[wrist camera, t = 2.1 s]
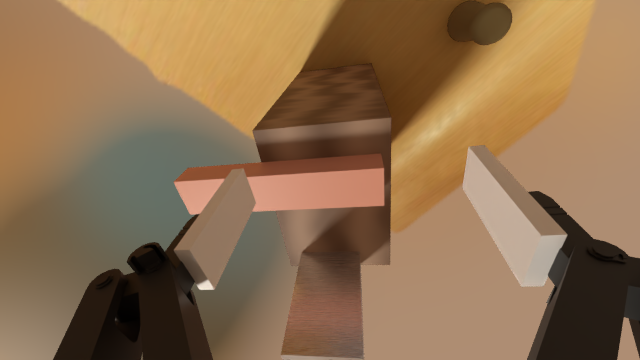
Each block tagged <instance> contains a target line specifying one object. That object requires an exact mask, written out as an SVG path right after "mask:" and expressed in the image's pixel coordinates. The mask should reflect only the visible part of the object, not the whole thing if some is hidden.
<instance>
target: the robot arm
mask: <svg viewBox="0 0 640 360" xmlns="http://www.w3.org/2000/svg"><path fill="white" fill-rule="evenodd" d="M463 190H464V191H465V193H466V195H467V196H468V198H469V200H470V201H471V203H472V205H473V206H474V208H475V210H476V211H477V213H478V215H479V216H480V218H481V220H482V221H483V223H484V225H485V227H486V228H487V230H488V232H489V233H490V235H491V237H492V238H493V240H494V242H495V243H496V245H497V247H498V248H499V250H500V252H501V253H502V255H503V256H504V258H505V260H506V261H507V263H508V265H509V267H510V268H511V270H512V272H513V273H514V275H515V277H516V278H517V280H518V282H519V283H520V285H521V286H544V284H545V282H546V280H547V278H548V276H549V278H550V279H551V280H552V282H553V283H554V285H555V286H554V288H553V290H552V292H551V294H550V296H549V298H548V300H547V303H548V304H547V307H546V309H545V312H544V315H543V318H542V320H541V323H540V326H539V329H538V331H537V334H536V337H535V339H534V342H533V345H532V347H531V351H530V353H529V356H528V358H527V360H617V357H618V350H619V343H620V337H621V331H622V324H623V318H624V317H626V318H629V321H630V325H631V328H632V332H633V336H634V339H635V343H636V346H637V350H638V353H639V357H640V258H634V257H630V256H628V255H627V254H626V253H625V252H624V251H623V250H621V249H619V248H618V247H617V246H615V245H612V244H610V243H607V242H605V241H600V240H596V239H593V238H592V237H591V236H590V235H589V234H588V233H587V232H586V231H585V230H584V229H583V228H582V227H581V226H579V224H578V223H576V221H575V220H573V218H571V217H570V216H569V215H567V213H566V212H565V211H564V210H563V209H562V208H560V206H559V205H558V204H557V203H556V202H555V201H554V200H553V199H552V198H550V197H549V196H547V195H545V194H543V193H541V192H539V191H534V192H527V191H526V190H525V188H524V187H523V186H522V185H521V184H520V183H519V182H518V181H517V180H516V179H515V178H514V177H513V176H512V174H511V173H510V172H509V171H508V170H507V169H506V168H505V167H504V166H503V165H502V164H501V163H500V162H499V161H498V159H497V158H496V157H495V156H494V155H493V154H492V153H491V152H490V151H489V150H488V149H487V148H486V147H485V145H480V146H470V147H469V148H468V155H467V161H466V168H465V174H464V181H463ZM255 204H256V201H255V198H254V195H253V193H252V190H251V187H250V185H249V182H248V179H247V177H246V174H245V171H244V169H243V168H241V169H232V170H231V172H230V173H229V174H228V176H227V177H226V179H225V180H224V181H223V183H222V184H221V185H220V187H219V188H218V190H217V191H216V192H215V194H214V195H213V197H212V198H211V199H210V201H209V202H208V203H207V205H206V206H205V208H204V209H203V210H202V212H201V213H200V214H196V215H195V216H194V217H192V218H191V219H190V220H189V221H188V222H187V223H186V224H185V226H184V227H183V230H181V231H180V232H179V234H178V236H176V238H175V239H174V240H173V242H172V243H171V244H170V246H169V247H168V248H167V250H166V251H165V252H164V250H163V249H162V248H161V246H160V245H159V243H155V242H153V243H148V244H145V245H143V246H141V247H139V248H138V249H136V250H135V251H134V252H133V253H132V254H131V255H130V256H129V258H128V260H127V263H128V264H129V265H130V267H131V268H132V269H133V270H134V271H135V272H134V273H130V274H127V275H123V273H122V272H121V271H120V270H119V269H112V270H108V271H106V272H104V273H102V274H100V275H99V276H97V277H96V278H95V279H94V280H93V281H92V282H91V283H90V284H89V286H88V287H87V289H86V291H85V293H84V295H83V298H82V300H81V302H80V304H79V306H78V308H77V310H76V312H75V314H74V317H73V319H72V321H71V323H70V325H69V327H68V329H67V331H66V333H65V336H64V338H63V340H62V342H61V344H60V346H59V348H58V350H57V353H56V355H55V357H54V359H53V360H141V356H142V352H143V360H213V358H212V354H211V352H210V348H209V344H208V341H207V338H206V334H205V330H204V327H203V324H202V320H201V317H200V314H199V310H198V307H197V303H196V300H195V296H194V294H193V292H192V290H191V288H192V286H193V284H194V282H195V283H196V284H197V286H198V288H199V289H200V290H213V289H215V287H216V285H217V283H218V281H219V279H220V277H221V275H222V273H223V271H224V269H225V266H226V264H227V262H228V260H229V258H230V256H231V254H232V252H233V250H234V248H235V245H236V244H237V242H238V240H239V237H240V235H241V233H242V231H243V229H244V227H245V225H246V223H247V221H248V219H249V217H250V215H251V212H252V210H253V208H254V206H255Z"/></svg>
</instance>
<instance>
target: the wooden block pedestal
mask: <svg viewBox="0 0 640 360" xmlns="http://www.w3.org/2000/svg"><path fill="white" fill-rule="evenodd" d="M253 135H254V138H255V142H256V145H257V148H258V152H259V155H260V159H261V162H274V161H287V160H301V159H314V158H327V157H341V156H354V155H368V154H381V156H382V161H383V165H384V206H368V207H345V208H323V209H300V210H277V211H276V214H277V218H278V221H279V224H280V228H281V231H282V235H283V238H284V242H285V245H286V249H287V252H288V256H289V259H290V263H291V265H292V266H299V262H300V258H301V253H302V252H354V251H360V263H361V265H390V213H391V116H390V113H389V110H388V107H387V105H386V102H385V99H384V97H383V94H382V91H381V88H380V86H379V83H378V80H377V77H376V75H375V72H374V69H373V67H372V64H371V63H369V64H361V65H354V66H346V67H338V68H330V69H322V70H315V71H307V72H300V73H299V74H298V75H297V76H296V78H295V79H294V80H293V81H292V82H291V84H290V85H289V86H288V87H287V89H286V90H285V91H284V92H283V94H282V95H281V96H280V97H279V99H278V100H277V101H276V102H275V103H274V105H273V106H272V107H271V108H270V110H269V111H268V112H267V113H266V115H265V116H264V117H263V118H262V120H261V121H260V122H259V123H258V124H257V126H256V127H255V128H254V129H253Z"/></svg>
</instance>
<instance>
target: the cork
mask: <svg viewBox="0 0 640 360" xmlns="http://www.w3.org/2000/svg"><path fill="white" fill-rule="evenodd" d="M511 23H512V13H511V10H510V9H509V8H508V7H507V6H506V5H505V4H502V3H491V4H488V5H484V4H481V3H479V2H476V1H467V2H464V3H462V4H460V5H459V6H457V7H456V8H455V10H454V11H453V12H452V14H451V15H450V17H449V20H448V25H447V26H448V33H449V35H450V36H451V37H452V38H453V39H454V40H456V41H474V42H475V43H478V44H480V45H489V44H492V43H495V42H497V41H499V40H500V39H502V38H503V37H504V36H505V35H506V33H507V32H508V30H509V29H510V26H511Z"/></svg>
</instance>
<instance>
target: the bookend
mask: <svg viewBox="0 0 640 360" xmlns="http://www.w3.org/2000/svg"><path fill="white" fill-rule="evenodd" d="M362 317H363V316H362V289H361V263H360V251H354V252H302V253H301V258H300V262H299V267H298V272H297V277H296V282H295V287H294V292H293V297H292V302H291V307H290V311H289V317H288V322H287V326H286V331H285V337H284V341H283V346H282V351H281V357H282V359H283V360H364V343H363V318H362Z"/></svg>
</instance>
